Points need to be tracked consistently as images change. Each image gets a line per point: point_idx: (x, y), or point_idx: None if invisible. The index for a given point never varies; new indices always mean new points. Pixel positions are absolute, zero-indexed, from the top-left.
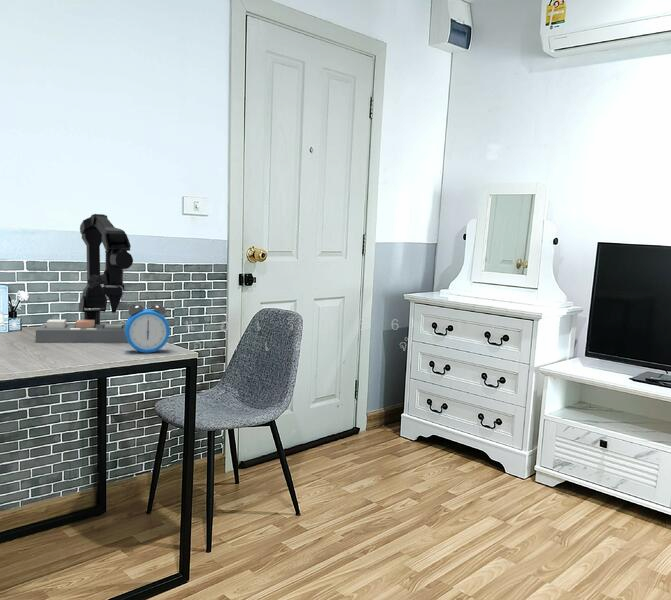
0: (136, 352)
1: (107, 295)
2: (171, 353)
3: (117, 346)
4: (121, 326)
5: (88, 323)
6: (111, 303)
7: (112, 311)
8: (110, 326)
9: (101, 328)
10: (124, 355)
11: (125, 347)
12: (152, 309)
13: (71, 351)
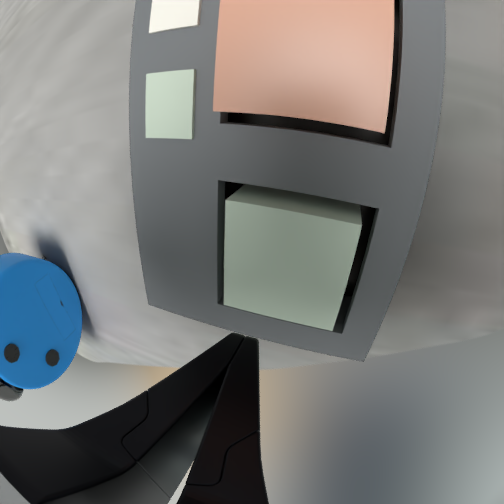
0: (43, 258)
1: (24, 436)
2: None
3: (103, 221)
4: (256, 309)
5: (219, 71)
6: (148, 399)
7: (225, 341)
8: (225, 242)
9: (211, 173)
10: (25, 226)
11: (94, 245)
12: (3, 379)
13: (37, 78)
